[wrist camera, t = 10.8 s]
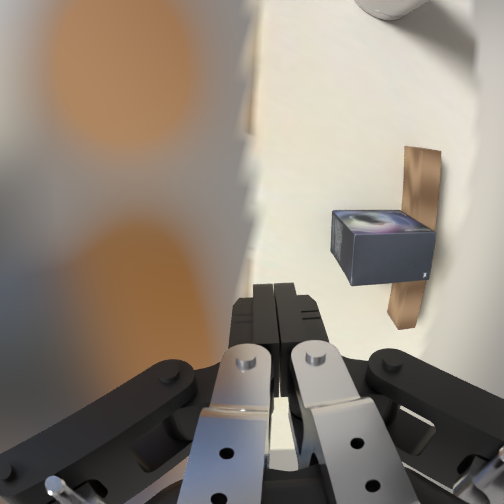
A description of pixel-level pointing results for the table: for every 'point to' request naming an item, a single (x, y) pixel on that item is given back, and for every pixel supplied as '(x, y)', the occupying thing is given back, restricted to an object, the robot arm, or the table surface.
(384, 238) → the small box
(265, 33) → the table surface
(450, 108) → the table surface
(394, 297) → the walnut board
